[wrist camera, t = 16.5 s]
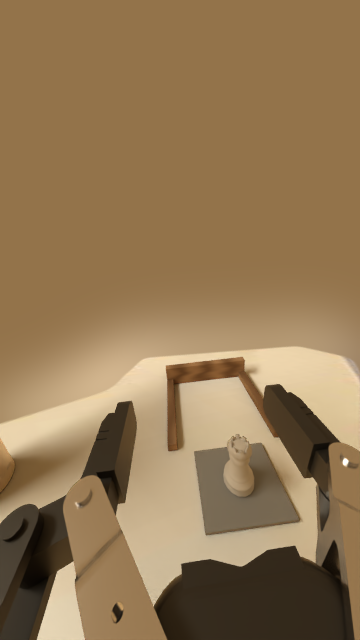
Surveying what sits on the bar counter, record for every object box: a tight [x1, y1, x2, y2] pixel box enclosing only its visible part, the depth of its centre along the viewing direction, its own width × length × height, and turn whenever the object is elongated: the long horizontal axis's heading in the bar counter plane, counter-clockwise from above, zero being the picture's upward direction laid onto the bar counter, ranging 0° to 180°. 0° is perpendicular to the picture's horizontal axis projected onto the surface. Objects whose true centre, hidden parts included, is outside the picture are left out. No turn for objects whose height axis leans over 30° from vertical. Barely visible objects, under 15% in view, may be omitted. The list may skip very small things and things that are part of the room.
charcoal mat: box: [194, 443, 299, 535], centre depth 28 cm, size 12×10×1 cm
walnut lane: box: [166, 357, 279, 451], centre depth 42 cm, size 21×20×5 cm
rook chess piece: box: [223, 435, 255, 497], centre depth 26 cm, size 4×4×8 cm
